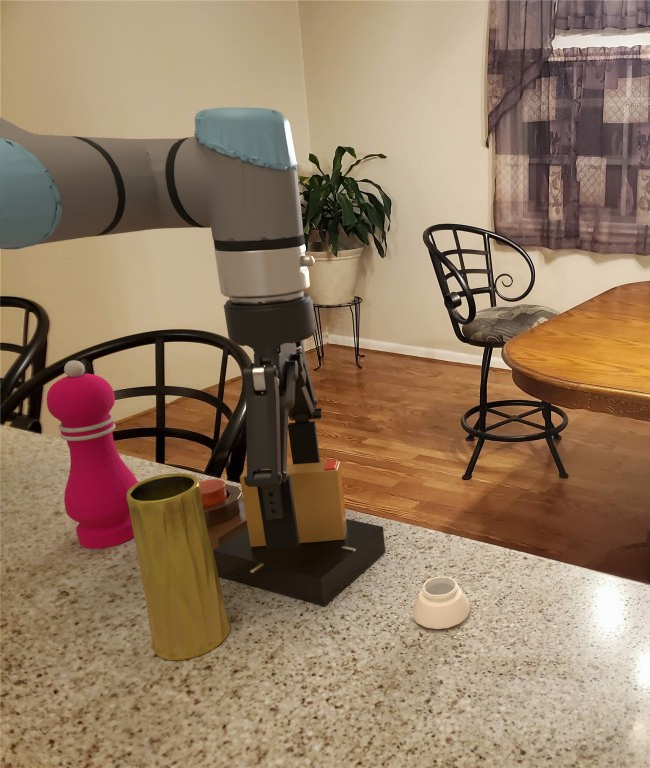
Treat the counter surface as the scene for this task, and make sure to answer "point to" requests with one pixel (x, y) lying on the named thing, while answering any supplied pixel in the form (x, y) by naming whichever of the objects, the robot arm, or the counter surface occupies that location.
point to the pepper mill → (92, 458)
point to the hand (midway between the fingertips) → (297, 510)
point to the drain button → (212, 492)
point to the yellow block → (305, 503)
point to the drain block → (226, 517)
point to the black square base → (302, 563)
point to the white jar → (440, 604)
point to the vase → (177, 567)
